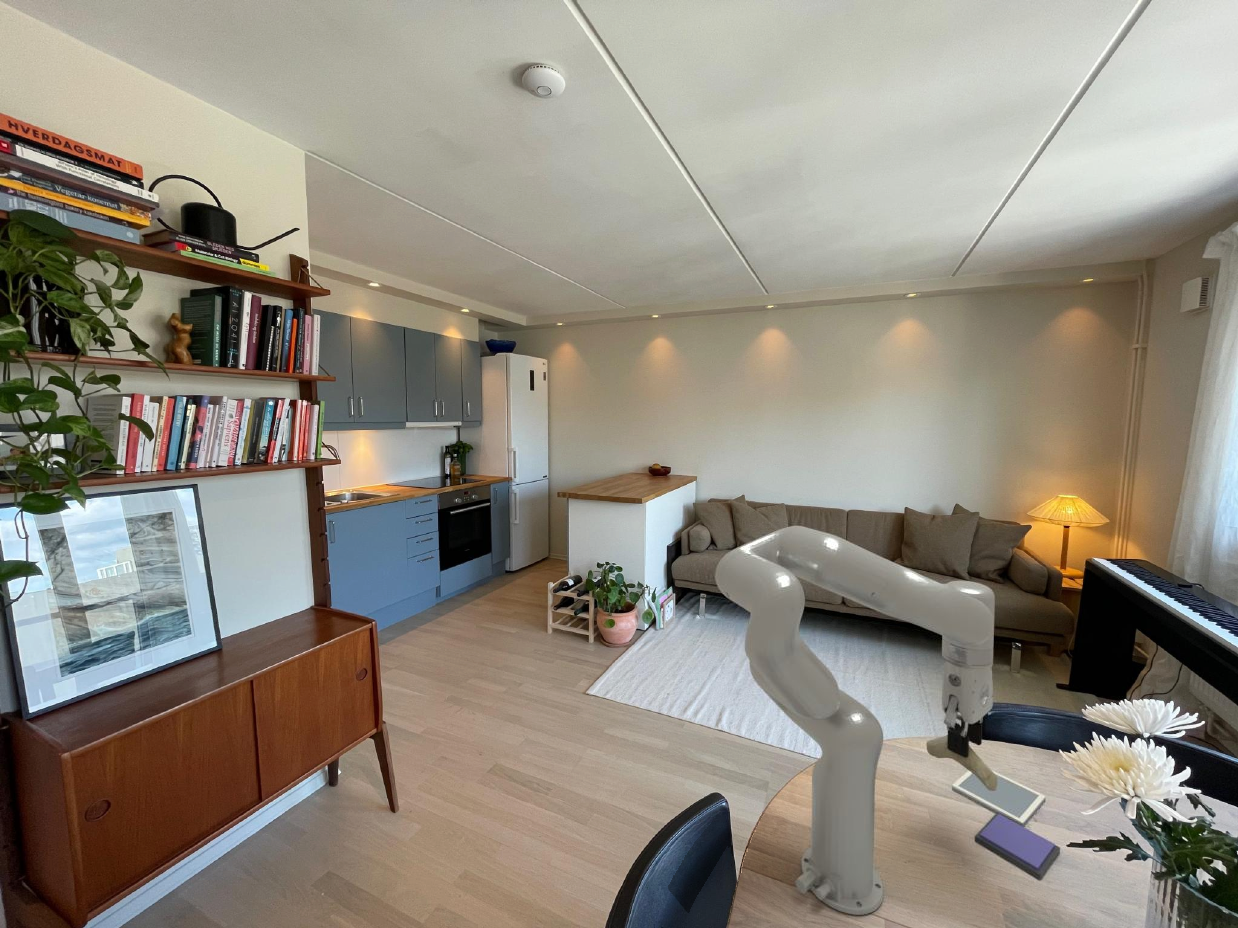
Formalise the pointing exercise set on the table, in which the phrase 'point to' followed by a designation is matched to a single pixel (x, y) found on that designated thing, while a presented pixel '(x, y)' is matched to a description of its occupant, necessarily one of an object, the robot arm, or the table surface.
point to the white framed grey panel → (1001, 797)
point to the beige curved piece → (964, 761)
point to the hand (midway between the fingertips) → (964, 745)
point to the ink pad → (1018, 845)
